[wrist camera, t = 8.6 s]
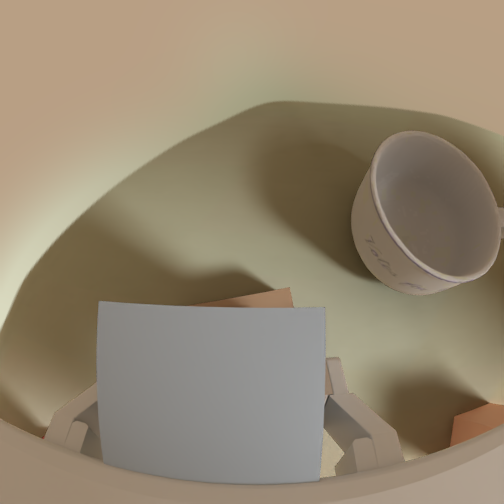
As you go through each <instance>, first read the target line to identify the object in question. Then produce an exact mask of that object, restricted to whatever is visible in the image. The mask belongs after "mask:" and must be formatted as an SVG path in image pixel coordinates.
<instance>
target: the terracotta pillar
mask: <svg viewBox="0 0 504 504" xmlns="http://www.w3.org/2000/svg"><path fill="white" fill-rule="evenodd" d="M503 423H504V405H498V404H492V403H488V404H486V405H484V406H481V407H478V408H476V409H473V410H471V411H468V412H465V413H462V414H460V415H457V416H454V422H453V430H452V436H451V442H450V447H452V446H454V445H457V444H459V443H462V442H464V441H467V440H469V439H471V438H474V437H476V436H478V435H480V434H483V433H485V432H487V431H489V430H491V429H493V428H495V427H497V426H499V425H501V424H503Z"/></svg>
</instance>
